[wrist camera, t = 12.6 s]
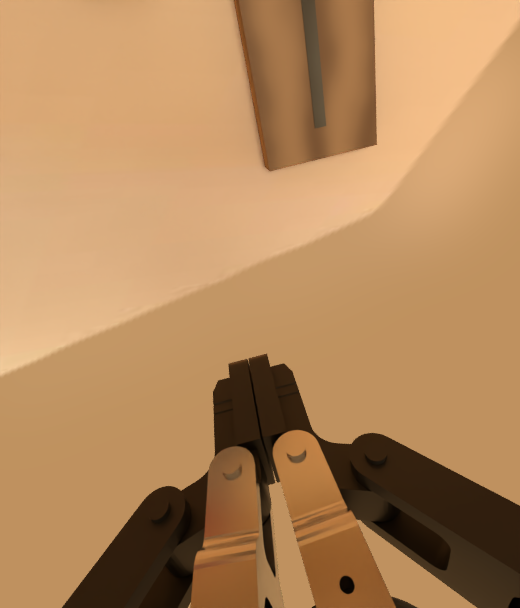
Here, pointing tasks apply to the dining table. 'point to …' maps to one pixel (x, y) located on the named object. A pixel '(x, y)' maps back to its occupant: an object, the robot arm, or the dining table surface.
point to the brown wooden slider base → (310, 76)
